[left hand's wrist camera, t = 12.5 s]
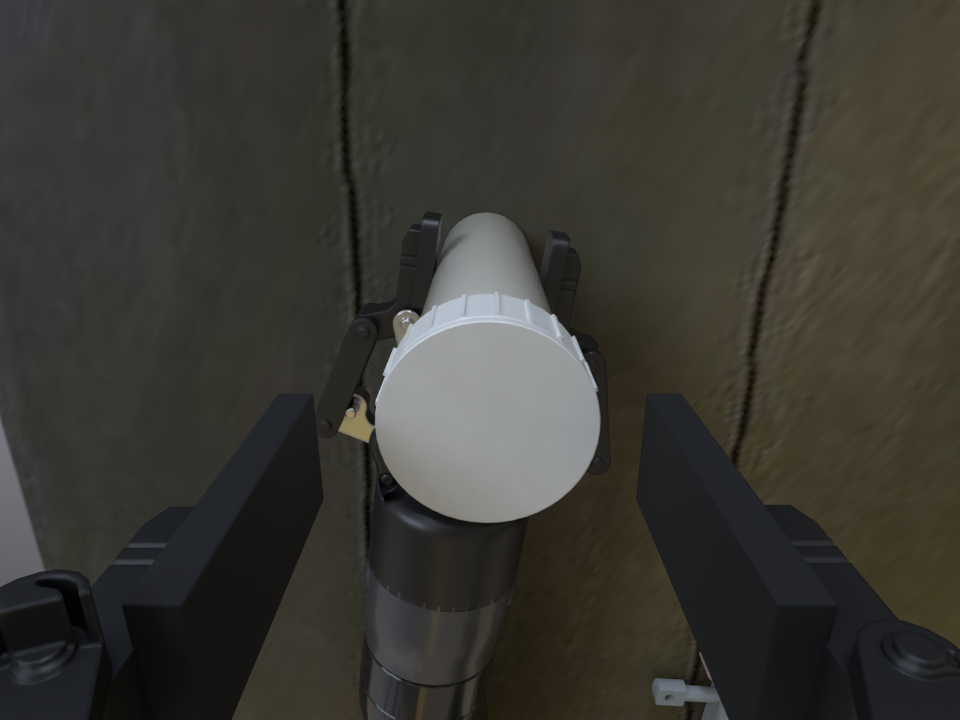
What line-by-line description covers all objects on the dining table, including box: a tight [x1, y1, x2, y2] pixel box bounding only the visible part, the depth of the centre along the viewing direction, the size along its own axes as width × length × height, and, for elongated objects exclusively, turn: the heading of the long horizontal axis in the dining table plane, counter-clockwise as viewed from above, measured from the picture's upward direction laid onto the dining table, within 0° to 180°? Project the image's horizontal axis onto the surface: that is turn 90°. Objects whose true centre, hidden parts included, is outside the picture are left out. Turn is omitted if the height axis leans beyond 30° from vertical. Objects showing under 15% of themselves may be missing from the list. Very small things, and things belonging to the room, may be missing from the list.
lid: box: [375, 292, 601, 523], centre depth 16 cm, size 5×5×2 cm
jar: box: [420, 213, 552, 318], centre depth 24 cm, size 5×5×19 cm
